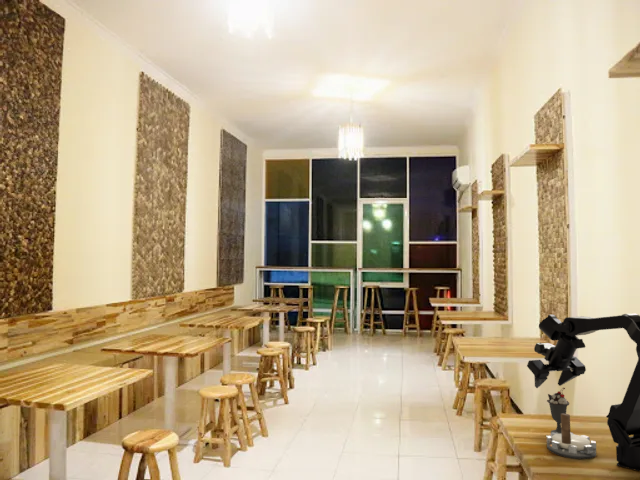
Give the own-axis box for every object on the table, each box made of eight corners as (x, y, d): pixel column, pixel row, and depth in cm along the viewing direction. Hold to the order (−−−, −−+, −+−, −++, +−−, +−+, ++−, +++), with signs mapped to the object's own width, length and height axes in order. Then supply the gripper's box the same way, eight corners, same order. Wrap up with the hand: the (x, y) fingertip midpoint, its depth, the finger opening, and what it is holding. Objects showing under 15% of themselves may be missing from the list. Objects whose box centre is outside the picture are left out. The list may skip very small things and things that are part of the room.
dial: (594, 444, 144) (593, 411, 144) (583, 453, 137) (582, 419, 137) (559, 435, 151) (558, 405, 152) (547, 444, 144) (545, 412, 145)
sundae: (574, 436, 155) (572, 389, 156) (553, 436, 156) (551, 389, 156) (564, 429, 162) (562, 384, 163) (544, 429, 162) (542, 384, 163)
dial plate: (602, 450, 144) (601, 438, 144) (587, 463, 135) (587, 451, 135) (556, 439, 153) (556, 428, 153) (540, 450, 144) (539, 439, 144)
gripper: (571, 332, 164) (555, 367, 171) (524, 335, 159) (510, 371, 166) (595, 354, 155) (576, 390, 162) (546, 358, 150) (529, 395, 157)
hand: (547, 385), depth 162 cm, fingers open, 9 cm apart
